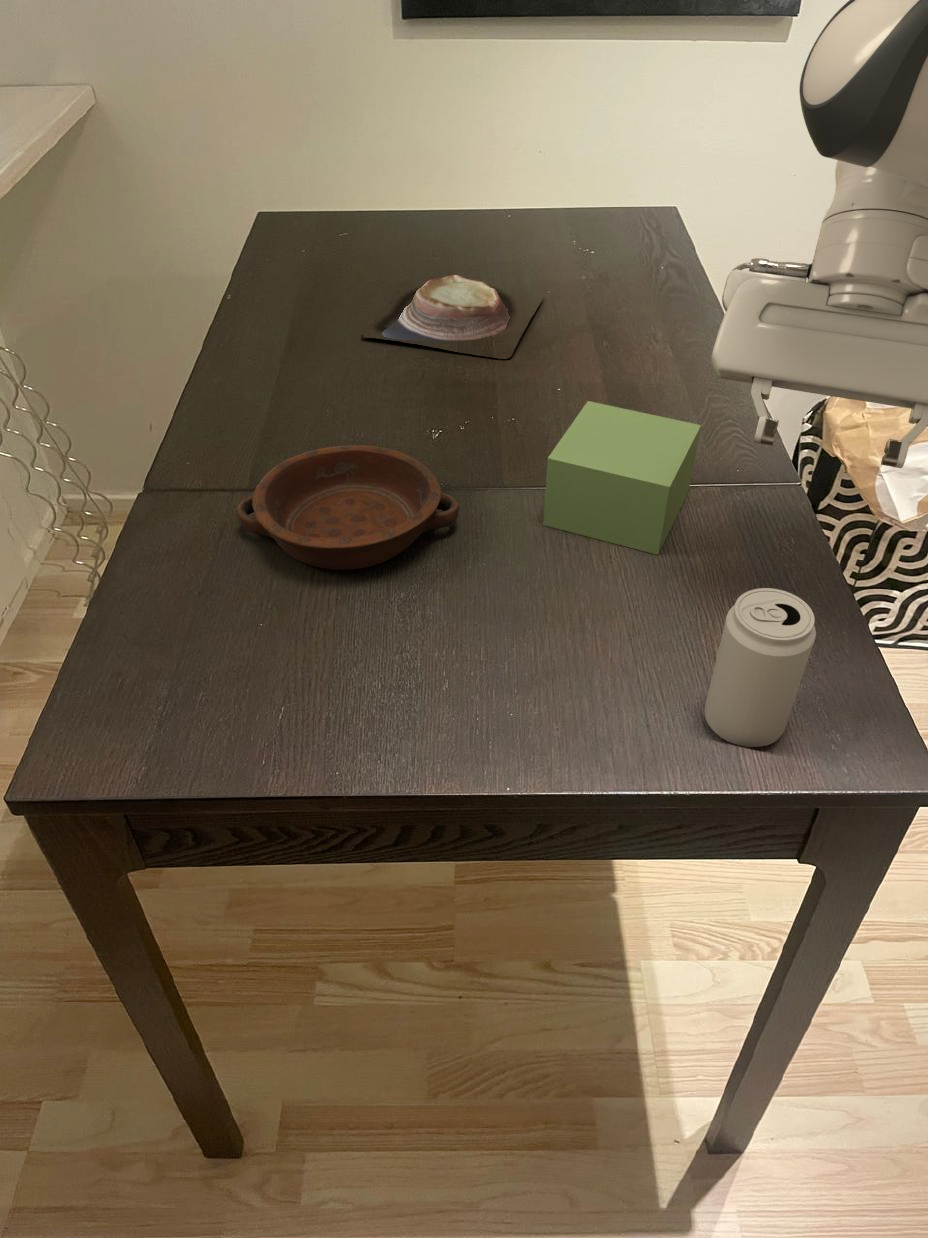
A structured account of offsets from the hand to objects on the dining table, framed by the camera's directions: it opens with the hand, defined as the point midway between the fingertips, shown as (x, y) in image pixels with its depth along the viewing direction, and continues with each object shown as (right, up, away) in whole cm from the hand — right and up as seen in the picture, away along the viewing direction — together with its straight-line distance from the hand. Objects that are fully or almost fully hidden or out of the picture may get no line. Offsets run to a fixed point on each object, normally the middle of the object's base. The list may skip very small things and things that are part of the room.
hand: (826, 454), depth 73 cm
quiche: (-29, +29, +60) cm, 72 cm away
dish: (-39, -4, +23) cm, 46 cm away
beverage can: (-5, -21, +4) cm, 22 cm away
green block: (-12, -1, +26) cm, 29 cm away
